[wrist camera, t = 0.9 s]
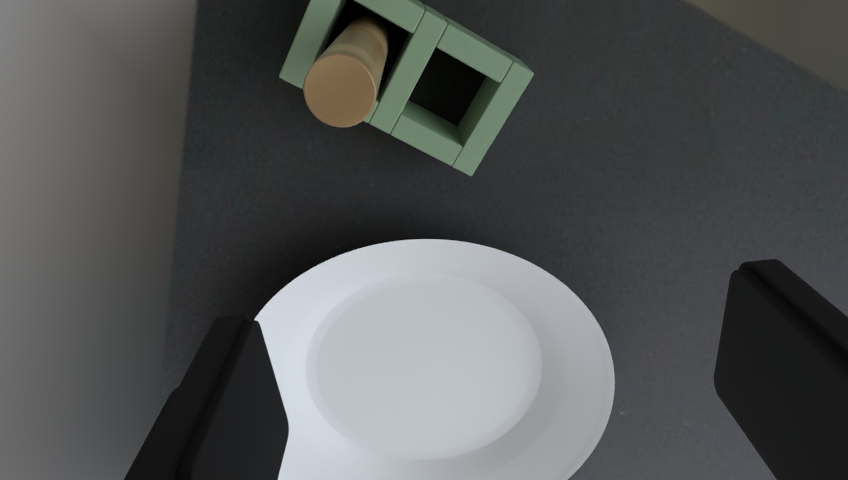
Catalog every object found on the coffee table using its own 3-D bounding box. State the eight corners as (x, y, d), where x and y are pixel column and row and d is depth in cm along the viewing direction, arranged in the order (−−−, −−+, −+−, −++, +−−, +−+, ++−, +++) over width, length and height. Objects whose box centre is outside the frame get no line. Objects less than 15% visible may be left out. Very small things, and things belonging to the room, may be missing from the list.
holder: (293, 63, 30) (277, 77, 27) (339, -46, 28) (329, -46, 25) (464, 153, 33) (471, 177, 29) (520, 59, 31) (534, 73, 27)
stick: (337, 49, 30) (291, 107, 19) (356, 6, 29) (320, 40, 18) (377, 70, 31) (357, 140, 19) (397, 29, 30) (388, 76, 18)
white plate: (194, 420, 42) (176, 459, 39) (348, 140, 32) (341, 160, 29) (474, 527, 48) (478, 568, 45) (672, 318, 39) (695, 351, 35)
